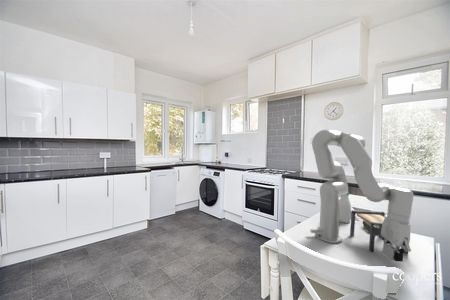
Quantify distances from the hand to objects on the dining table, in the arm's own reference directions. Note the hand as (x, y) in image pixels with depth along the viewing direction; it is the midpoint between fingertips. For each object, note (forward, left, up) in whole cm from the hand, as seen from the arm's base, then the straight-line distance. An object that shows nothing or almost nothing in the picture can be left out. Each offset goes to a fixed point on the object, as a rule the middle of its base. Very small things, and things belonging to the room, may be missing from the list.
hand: (392, 256), depth 86 cm
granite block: (0, 0, -1) cm, 1 cm away
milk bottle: (+5, +48, -4) cm, 48 cm away
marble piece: (+19, +34, -4) cm, 39 cm away
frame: (+6, +18, -4) cm, 19 cm away
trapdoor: (+7, +18, +9) cm, 21 cm away
